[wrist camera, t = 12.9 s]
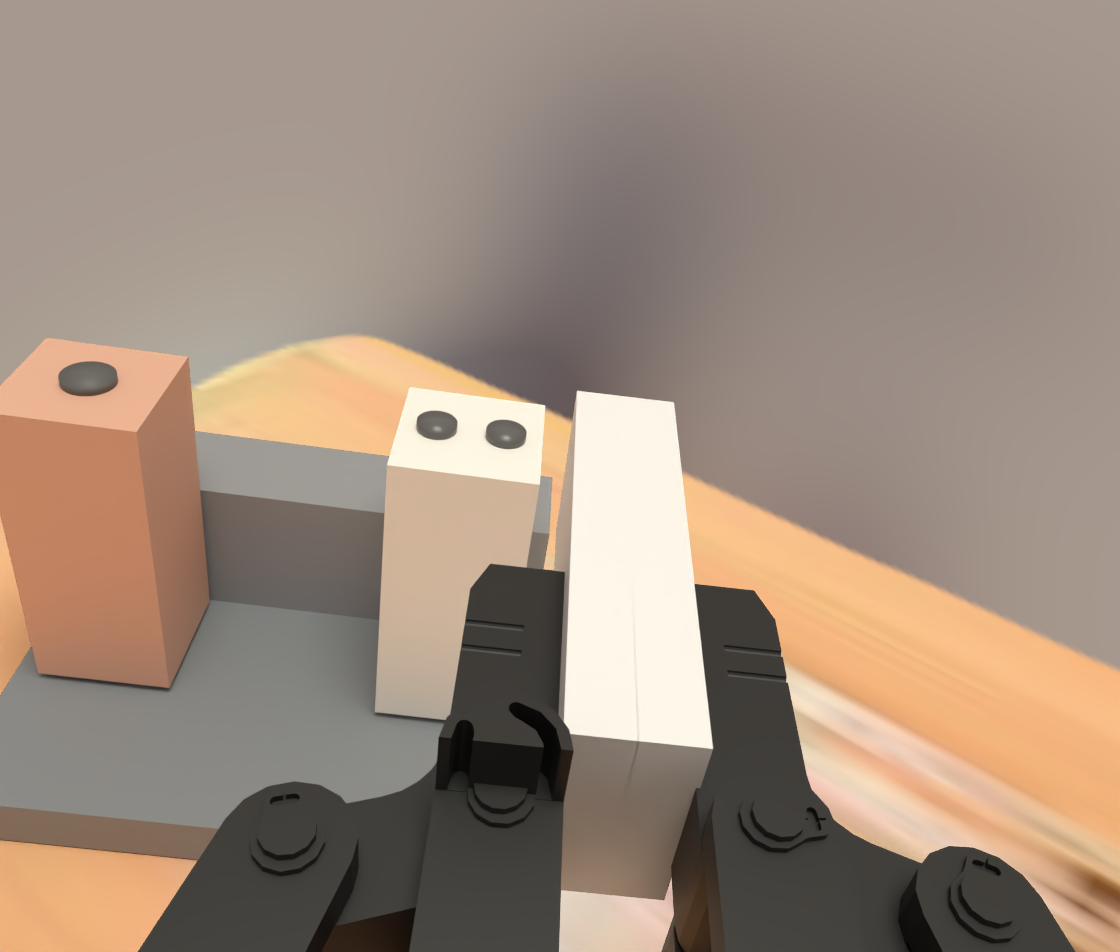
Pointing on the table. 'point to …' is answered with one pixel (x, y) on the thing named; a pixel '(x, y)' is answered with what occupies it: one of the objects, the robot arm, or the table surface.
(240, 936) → the robot arm
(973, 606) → the table surface
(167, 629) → the button terracotta
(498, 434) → the white block with dots
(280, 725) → the grey l-shaped bracket
